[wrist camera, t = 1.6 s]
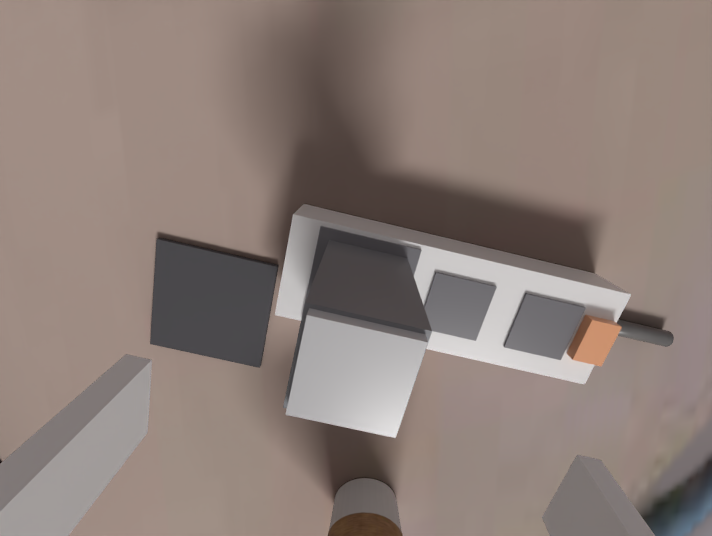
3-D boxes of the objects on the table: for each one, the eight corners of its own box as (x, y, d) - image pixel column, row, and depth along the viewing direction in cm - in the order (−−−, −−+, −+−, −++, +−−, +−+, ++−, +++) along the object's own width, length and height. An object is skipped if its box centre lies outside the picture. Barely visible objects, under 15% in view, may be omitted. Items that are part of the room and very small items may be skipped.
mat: (152, 341, 31) (150, 343, 30) (159, 237, 28) (156, 238, 27) (260, 364, 31) (259, 367, 31) (278, 265, 28) (277, 266, 28)
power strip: (287, 291, 29) (271, 320, 24) (303, 203, 27) (290, 216, 22) (639, 372, 30) (687, 413, 26) (683, 294, 28) (744, 324, 23)
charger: (313, 311, 25) (280, 417, 15) (329, 239, 23) (302, 308, 14) (387, 327, 25) (398, 442, 15) (407, 258, 23) (434, 338, 14)
